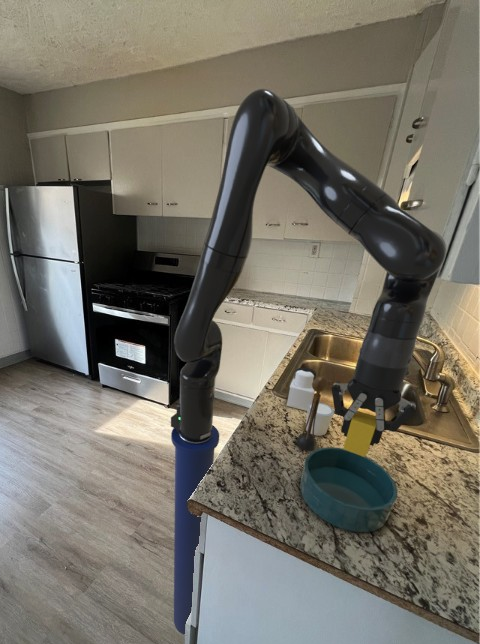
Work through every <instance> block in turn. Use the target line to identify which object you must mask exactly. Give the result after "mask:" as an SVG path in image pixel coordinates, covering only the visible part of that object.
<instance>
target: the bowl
mask: <svg viewBox="0 0 480 644" xmlns="http://www.w3.org/2000/svg"><path fill="white" fill-rule="evenodd" d="M343 448H344V447H335V446H334V447H332V446H329V447H327V446H326V447H320V448H318V449H314V450H312V451H310V453H309V454H308V455H307V456H306V458H305V460H304V464H303V468H302V472H301V477H300V482H299V483H300V484H299V489H300V494H301V496H302V498H303V500H304V503H306V505H307V506H308V507H309V509H311V510H312V511H313V512H314V514H316V515H317V517H319V518H321V519H322V520H324V521H325V522H327V523H329V524H331V525H333V526H334V527H337V528H338V529H339V528H340V529H341V530H345V531H350V532H355V533H370V532H374V531H378V530H379V529H381V528H382V527H383V526H384V525H385V524H386V522H387V521H388V519H389V517H390V515H391V512H392V510H393V508H394V505H395V503H396V501H397V498H398V487H397V485H396V481H394V479H393V477H392V476H391V474H390V473H389V472H388V471H387V470H386V469H385V468H384V467H383V466H381V464H379V463H378V462H376V461H374V460H373V459H372V458H369V457H368V456H366V457H363V456H360V455H358V454H355V453H352V452H350V451H347V450H344V449H343Z"/></svg>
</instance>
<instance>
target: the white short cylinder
mask: <svg viewBox="0 0 480 644" xmlns="http://www.w3.org/2000/svg"><path fill="white" fill-rule="evenodd" d="M311 406H312V403H310V404H308V409H307V411H306V419H305V424H306V423H307V421H308V417H309V414H310V410H311ZM312 409H313V408H312ZM311 413H312V412H311ZM334 414H335V409H334V408H333V407H332V406H330V405H329V404H326V403H324V402H319V405H318V409H317V414H316V419H315V425H314V436H319V437H321V436H325V435H326V434H327V433H328V429H329V427H330V425H331V422H332V419H333V417H334ZM310 417H311V416H310ZM309 422H310V419H309ZM309 422H308V425H307V427H306V430H305V431H307V430H308V426H309ZM313 422H314V420H313ZM310 434H312V435H313V424H312V428H311V432H310Z"/></svg>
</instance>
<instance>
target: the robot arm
mask: <svg viewBox="0 0 480 644" xmlns="http://www.w3.org/2000/svg"><path fill="white" fill-rule="evenodd" d="M233 117H234V118H233V119H232V123H231V127H230V131H229V136H228V140H227V141H228V142H227V146H226V147H227V148H226V151H225V158H224V162H223V168H222V169H223V170H222V174H221V179H220V183H219V188H218V192H217V196H216V198H215V199H216V200H215V203H214V207H213V211H212V214H211V218H210V222H209V225H208V229H207V232H206V234H205V238H204V242H203V245H202V249H201V252H200V255H199V260H198V263H197V268H196V272H195V276H194V279H193V282H192V286H191V289H190V292H189V295H188V299H187V302H186V305H185V307H184V310H183V313H182V315H181V317H180V320H179V322H178V325H177V328H176V331H175V333H174V337H173V346H174V350H175V353H176V356H177V357H178V358H179V359H180V360H181V361H183V362H186V363H185V364H184V366H182V368H181V369H180V372H179V403H177V404H176V413H175V414H173V415H172V416H171V417H170V427H171V428H172V429H173V428H175V429H176V433H177V434H178V435H179V436H180V438H181V439H182V440H183V441H184V442H186V443H189V444H203V443H206V442H208V441H209V440H210V439H211V437H212V425H213V422H214V421H213V420H214V407H215V406H214V405H215V392H216V380H217V379H216V378H217V376H218V374H219V372H220V367H221V359H222V351H223V335H222V330H221V328H220V325H218V323H217V322H216V321H215V320H213V319H214V318H215V316H216V313H217V312H218V310H219V309H220V307H221V306H222V304H223V303H224V302H225V300H226V299H227V298H228V296H229V295H230V293H231V292H232V290H233V289H234V288H235V286H236V284H237V283H238V281H239V279H240V278H241V275H242V273H243V271H244V267H245V265H246V262H247V259H248V256H249V254H250V250H251V247H252V242H253V241H252V240H253V231H254V230H253V227H254V223H253V222H254V206H255V201H256V196H257V192H258V189H259V186H260V184H261V181H262V178H263V176H264V173H265V170H266V168H267V167H270V168H272V169H273V170H275V171H278V172H279V173H282V174H283V175H284V176H287V177H288V178H290V179H291V180H293V181H294V182H295V183H296V184H297V185H298V186H300V187H301V188H302V189H303V190H304V191H305V192H306V194H308V196H309V197H310V198H311V199H312V200H313V201H314V203H315V204H316V205H317V206H318V208H319V209H320V210H321V212H323V213H324V215H326V216H327V218H328V219H330V220H331V221H332V222H333V223H334V224H335V225H337V227H339V228H340V229H341V230H342V231H343V232H344V233H346V234H347V235H348V236H349V237H350V238H352V239H353V240H354V241H356V242H357V243H358V244H360V245H361V246H362V247H363V249H364V250H365V251H366V252H367V253H368V255H370V256H371V258H372V259H373V260H374V261H375V262H376V263H377V264H378V266H379V267H380V268H382V269H383V270H384V271H385V272H386V275H385V278H384V282H383V286H382V289H381V292H380V295H379V296H378V298H377V299H376V301H375V304H374V307H373V308H372V309H373V310H372V313H371V317H370V320H369V324H368V327H367V330H366V333H365V336H364V337H363V340H362V343H361V346H360V347H359V350H358V353H359V354H358V357H357V360H356V365H355V368H354V372H353V375H352V378H351V380H349V382H341V381H334V382H333V384H332V386H331V394H332V401H333V407H334V408H333V410H334V414H335V415H336V416H337V415H338V416H341V417H342V418H343V421H342V425H341V429H340V432H341V433H342V434H343V437H345V438H346V437H347V434H348V430H349V427H350V424H351V420H352V417H353V416H354V414H355V413H356V412H357V411H359V409H361V410H368V411H370V412H372V413H375V416H376V428H375V431H374V434H373V437H372V440H371V443H370V446H372V447H374V446H375V445H379V444H380V441H381V438H382V435H383V433H384V432H385V431H390V432H391V433H394V432H395V433H396V431H398V429H400V427H401V426H403V425H404V424H405V423H406V421H408V420H409V418H411V417H412V416H413V415H414V414H415V413H416V409H417V408H416V406H417V403H416V402H415V401H414V400H407V399H405V398H403V397H402V393H401V389H402V386H403V384H404V381H405V378H406V374H407V373H408V370H409V366H410V364H411V362H412V361H413V359H412V358H413V355H414V352H415V349H416V342H417V338H418V335H419V332H420V330H421V327H422V324H423V322H424V317H425V314H426V310H427V305H428V304H427V303H428V300H429V297H430V295H431V292H432V290H433V288H434V285H435V283H436V281H437V278H438V275H439V273H440V270H441V267H442V265H443V263H444V261H445V260H446V254H447V244H446V241H445V239H444V237H443V236H442V235H440V234H439V233H438V232H436V231H434V230H432V229H430V228H429V227H427V226H426V225H424V223H422V222H420V220H418V219H417V218H415V217H414V216H412V215H411V214H410V213H408V212H407V211H405V210H404V209H403V208H401V207H400V205H399V203H398V202H397V201H396V200H395V199H394V198H393V197H392V196H391V195H390V194H388V193H387V192H386V191H385V190H384V189H383V188H381V187H379V185H377V184H376V183H375V182H373V181H372V180H371V179H370V178H368V177H367V176H366V175H364V173H361V172H360V171H358V170H357V169H356V168H354V167H353V166H351V165H350V164H349V163H347V162H345V161H344V160H342V159H341V158H339V157H338V156H337V155H335V154H334V153H333V152H332V151H330V150H329V149H328V148H327V147H326V146H325V145H324V144H323V143H322V142H320V140H318V139H317V138H316V136H315V135H314V134H313V133H312V131H310V128H308V127H307V125H306V124H305V123H304V121H303V120H302V118H301V117H300V116H299V115H298V113H297V112H296V110H295V108H294V107H293V106H292V105H291V103H289V102H288V101H287V100H285V99H284V98H283V97H281V96H279V95H278V94H277V93H276V92H274V91H272V90H269V89H267V88H257V89H255V90H253V91H251V92H250V93H248V95H246V96H245V98H244V99H243V100H242V101H241V102H240V105H239V106H238V108H237V110H236V112H235V115H234V116H233ZM346 391H348V393H349V395H350V397H351V399H352V402H351V403H350V405H349V407H348V408H347V407H345V403H344V396H343V395H345V393H346ZM395 405H398V407H397V408H398V412H397V413H396V414H395V415H394V416H393V417H391V419H390V420H386V410H388V409H390V408H392V407H394V406H395Z"/></svg>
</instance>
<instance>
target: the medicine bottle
mask: <svg viewBox="0 0 480 644" xmlns="http://www.w3.org/2000/svg"><path fill="white" fill-rule="evenodd" d="M315 378H317V372H316V371H315V369H312V368H310V367H298V368H296V369H295V372H294V377H293V378H292V380H291V383H290V385H289V389H288V393H287V400H286V407H289V408H292V409H298V410H301V411H305V412H307V409H308V404H310V403H312V401H313V397H314V394H315V393H316V391H315V390H314V389H313V388H312V382H313V381H314V379H315Z"/></svg>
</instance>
